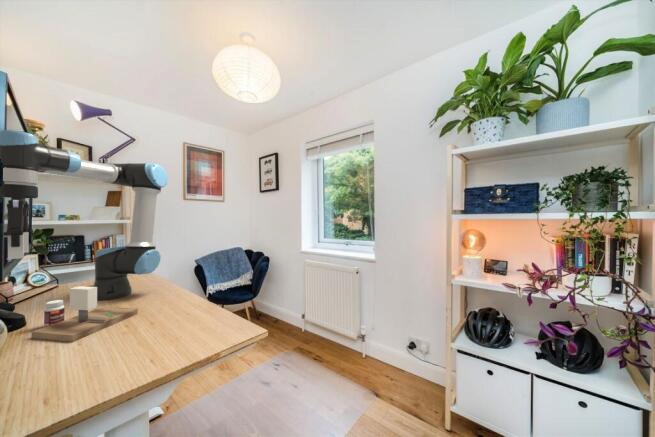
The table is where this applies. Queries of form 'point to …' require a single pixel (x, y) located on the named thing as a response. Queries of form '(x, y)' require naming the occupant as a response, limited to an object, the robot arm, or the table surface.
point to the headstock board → (83, 324)
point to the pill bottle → (54, 312)
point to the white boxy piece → (84, 301)
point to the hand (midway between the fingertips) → (19, 255)
